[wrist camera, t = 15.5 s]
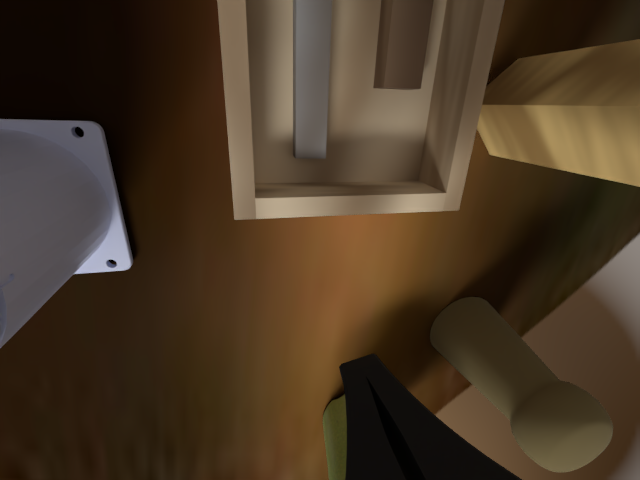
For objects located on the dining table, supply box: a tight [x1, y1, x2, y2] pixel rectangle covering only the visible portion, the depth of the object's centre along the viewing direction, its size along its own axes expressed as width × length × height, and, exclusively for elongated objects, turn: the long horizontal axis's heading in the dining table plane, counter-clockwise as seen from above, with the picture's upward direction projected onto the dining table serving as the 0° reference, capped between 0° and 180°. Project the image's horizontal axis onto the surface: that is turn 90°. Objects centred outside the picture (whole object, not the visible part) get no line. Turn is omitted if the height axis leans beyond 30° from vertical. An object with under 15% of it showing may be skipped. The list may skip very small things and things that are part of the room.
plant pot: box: [323, 394, 347, 480], centre depth 24 cm, size 9×9×9 cm
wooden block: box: [477, 39, 640, 187], centre depth 15 cm, size 4×4×10 cm
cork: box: [430, 297, 613, 472], centre depth 22 cm, size 6×6×11 cm
